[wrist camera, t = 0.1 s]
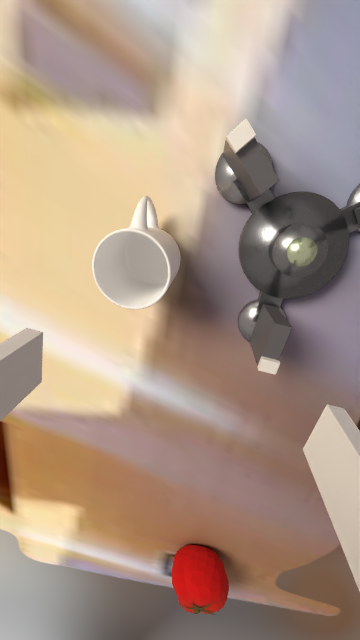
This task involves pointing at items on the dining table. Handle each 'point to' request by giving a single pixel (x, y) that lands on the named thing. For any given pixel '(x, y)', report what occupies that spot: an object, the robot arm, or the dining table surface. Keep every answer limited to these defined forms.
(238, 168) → the knob
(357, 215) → the knob
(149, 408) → the dining table surface
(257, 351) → the dark grey angled finger
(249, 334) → the tribrach
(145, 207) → the mug
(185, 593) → the tomato
